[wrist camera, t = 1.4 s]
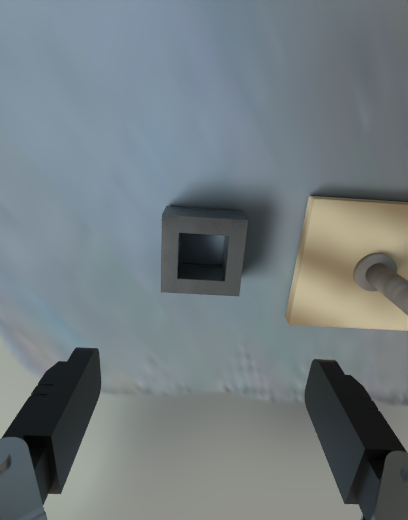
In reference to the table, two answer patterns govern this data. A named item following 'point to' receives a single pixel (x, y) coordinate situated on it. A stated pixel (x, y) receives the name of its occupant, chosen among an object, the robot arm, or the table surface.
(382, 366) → the table surface
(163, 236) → the link
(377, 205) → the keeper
